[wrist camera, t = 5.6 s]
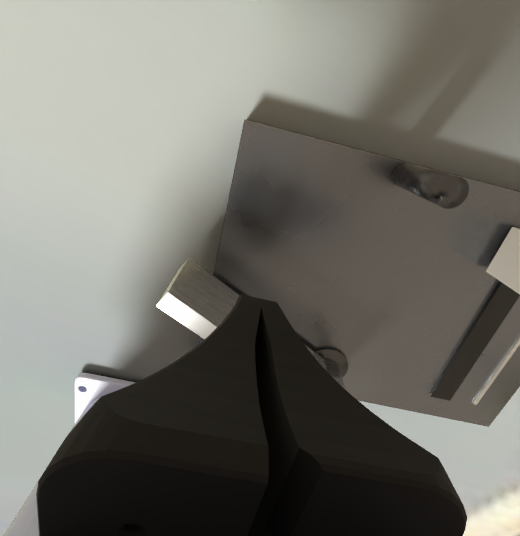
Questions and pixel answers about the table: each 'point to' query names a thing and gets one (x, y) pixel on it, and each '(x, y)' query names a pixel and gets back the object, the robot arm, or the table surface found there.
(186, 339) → the table surface
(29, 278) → the table surface
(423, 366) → the console plate
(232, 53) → the table surface
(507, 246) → the fader knob
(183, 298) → the door
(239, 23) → the table surface
